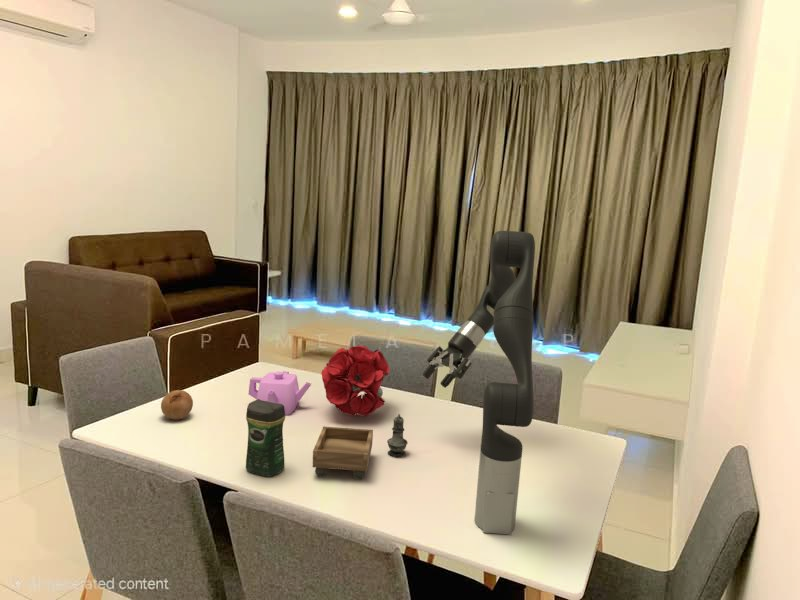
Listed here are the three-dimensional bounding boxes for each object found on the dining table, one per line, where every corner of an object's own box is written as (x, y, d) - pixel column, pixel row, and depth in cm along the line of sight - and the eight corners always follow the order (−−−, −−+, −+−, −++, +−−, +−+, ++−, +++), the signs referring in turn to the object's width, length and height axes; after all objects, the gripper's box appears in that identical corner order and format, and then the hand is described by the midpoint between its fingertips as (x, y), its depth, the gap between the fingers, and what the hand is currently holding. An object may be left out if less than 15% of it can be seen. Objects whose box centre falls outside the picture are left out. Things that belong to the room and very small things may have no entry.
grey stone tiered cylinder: (382, 454, 166) (384, 414, 164) (392, 447, 171) (394, 408, 169) (401, 459, 163) (403, 419, 161) (410, 452, 169) (413, 412, 166)
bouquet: (338, 414, 212) (301, 396, 185) (360, 353, 218) (327, 327, 192) (392, 431, 203) (361, 415, 177) (413, 367, 210) (386, 342, 183)
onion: (180, 431, 182) (179, 409, 176) (154, 419, 183) (153, 396, 178) (199, 411, 189) (199, 389, 183) (175, 400, 191) (174, 378, 185)
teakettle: (285, 395, 209) (286, 362, 207) (313, 409, 197) (314, 374, 195) (242, 405, 198) (242, 370, 195) (269, 421, 186) (269, 384, 183)
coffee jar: (289, 467, 155) (290, 401, 152) (271, 480, 148) (272, 410, 145) (259, 459, 159) (259, 394, 156) (240, 471, 152) (241, 403, 148)
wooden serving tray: (366, 482, 150) (367, 454, 149) (312, 478, 150) (313, 450, 149) (371, 454, 166) (373, 429, 164) (322, 451, 166) (323, 426, 165)
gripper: (445, 326, 178) (412, 367, 174) (476, 337, 167) (442, 381, 163) (457, 341, 182) (425, 381, 178) (488, 353, 171) (455, 396, 167)
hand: (433, 381), depth 170 cm, fingers open, 8 cm apart
